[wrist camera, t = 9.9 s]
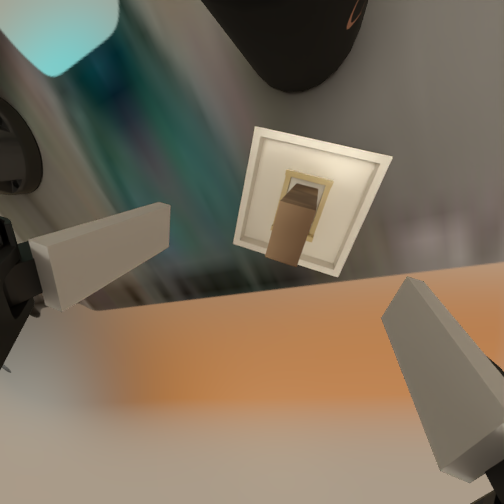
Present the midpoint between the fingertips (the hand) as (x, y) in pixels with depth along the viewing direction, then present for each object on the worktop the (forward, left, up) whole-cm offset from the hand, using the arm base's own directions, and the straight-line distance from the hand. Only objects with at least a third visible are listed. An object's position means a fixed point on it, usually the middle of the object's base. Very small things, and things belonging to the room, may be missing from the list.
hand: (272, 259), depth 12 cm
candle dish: (0, 0, -17) cm, 17 cm away
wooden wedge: (0, 0, -17) cm, 17 cm away
